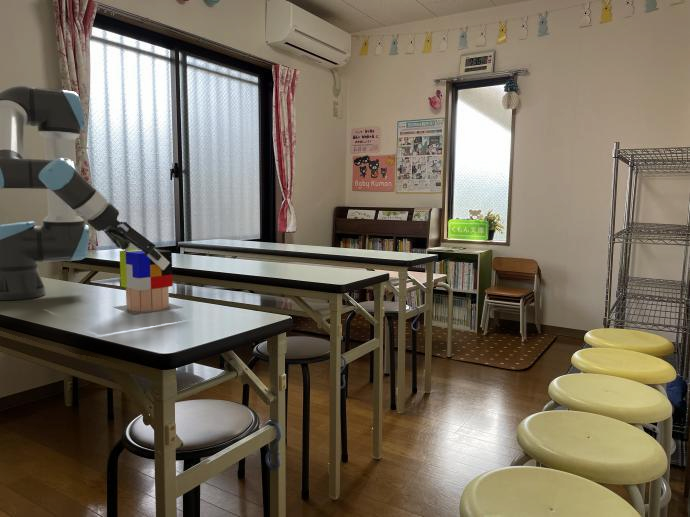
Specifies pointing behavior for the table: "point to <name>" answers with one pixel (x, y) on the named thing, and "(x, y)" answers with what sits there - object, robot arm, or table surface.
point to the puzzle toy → (144, 270)
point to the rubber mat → (124, 308)
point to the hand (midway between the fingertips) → (155, 264)
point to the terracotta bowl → (147, 299)
